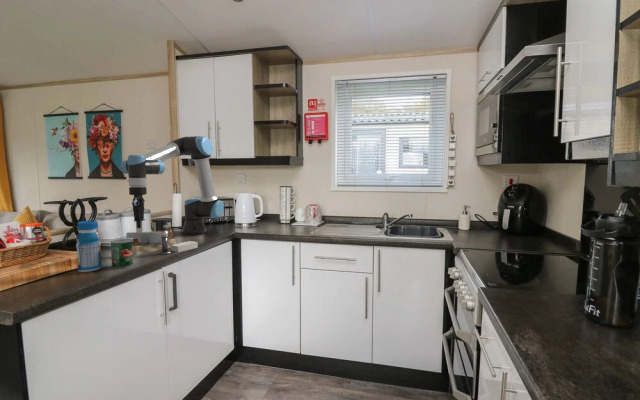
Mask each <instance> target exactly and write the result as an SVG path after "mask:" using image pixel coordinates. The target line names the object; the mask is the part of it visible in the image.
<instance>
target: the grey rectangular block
mask: <svg viewBox="0 0 640 400" xmlns="http://www.w3.org/2000/svg"><path fill="white" fill-rule="evenodd" d="M140 241H141V243H142V244H148V245H151V244H156V243H162V237H152V238H140Z"/></svg>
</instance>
